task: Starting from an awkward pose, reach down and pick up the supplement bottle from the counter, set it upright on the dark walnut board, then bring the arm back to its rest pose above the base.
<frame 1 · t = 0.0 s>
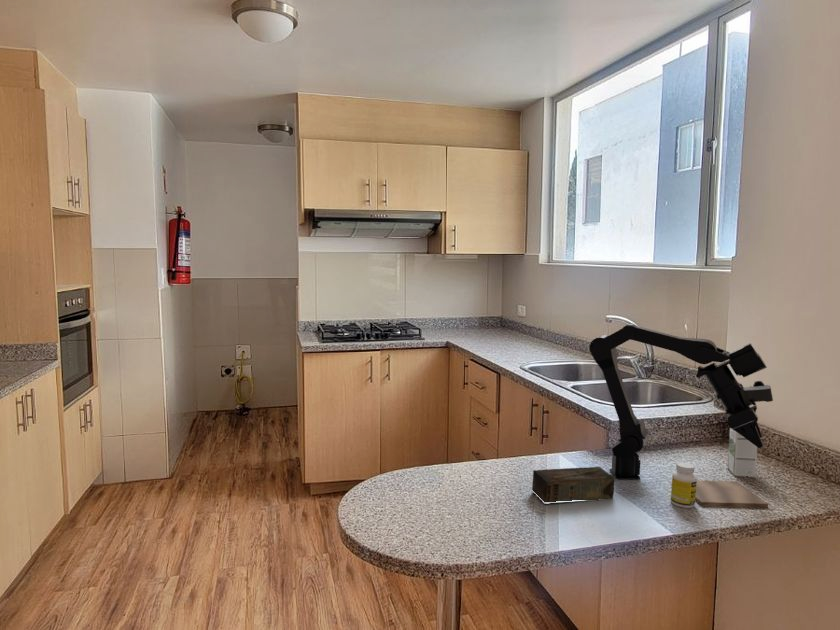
hand: (760, 442, 139), 15 cm above the countertop, tool tilted 35°, fingers open, 9 cm apart
beverage carton: (572, 497, 141), on the countertop
supplement bottle: (682, 504, 138), on the countertop
walnut board: (719, 495, 143), on the countertop
syrup box: (740, 473, 159), on the countertop
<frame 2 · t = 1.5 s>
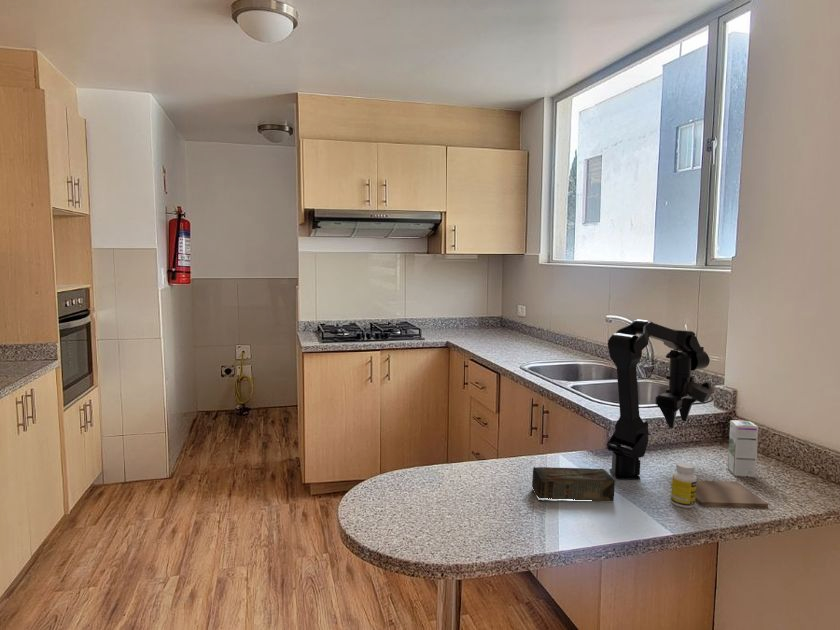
hand: (677, 424, 167), 11 cm above the countertop, tool pointing down, fingers open, 9 cm apart
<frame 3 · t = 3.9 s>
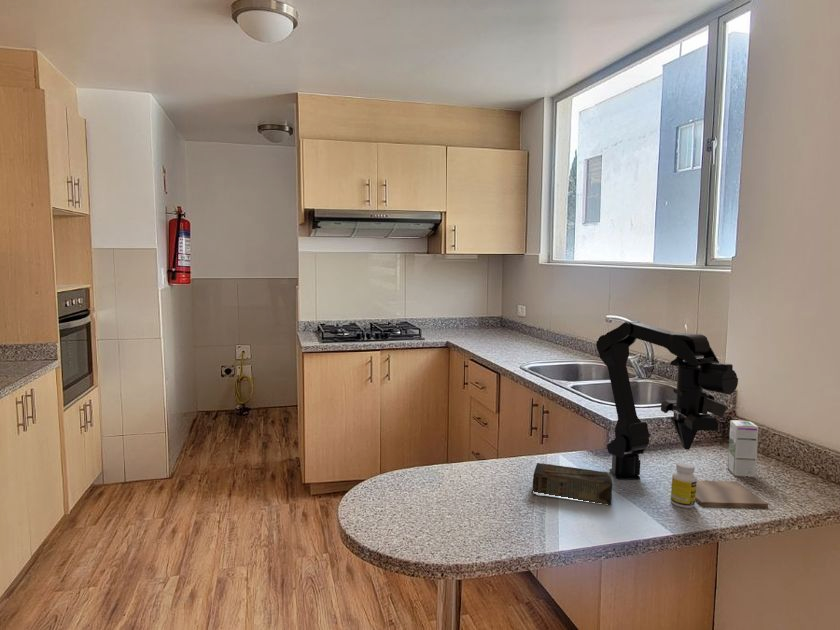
hand: (686, 449, 138), 13 cm above the countertop, tool pointing down, fingers closed
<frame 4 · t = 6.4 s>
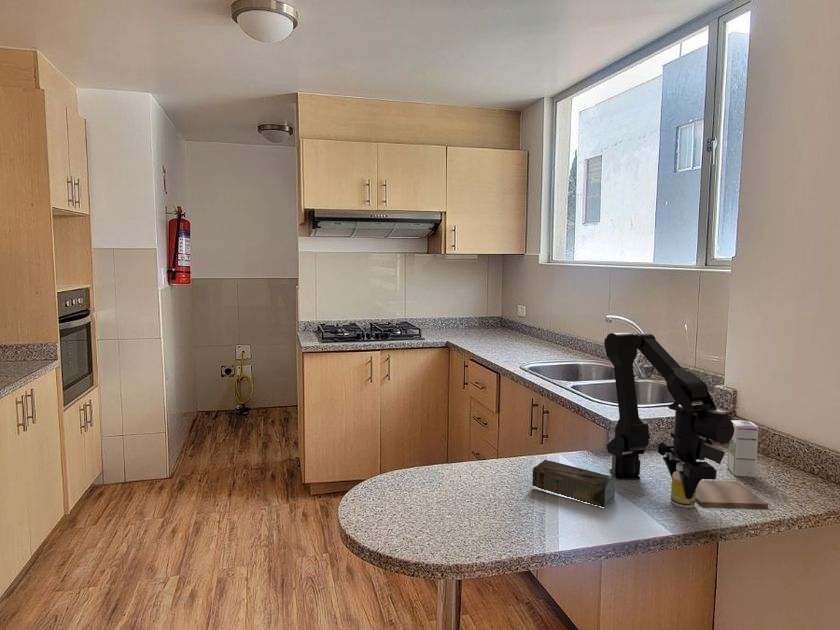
hand: (683, 493, 137), 3 cm above the countertop, tool pointing down, fingers closed on supplement bottle, 5 cm apart
supplement bottle: (682, 504, 138), on the countertop, touching gripper
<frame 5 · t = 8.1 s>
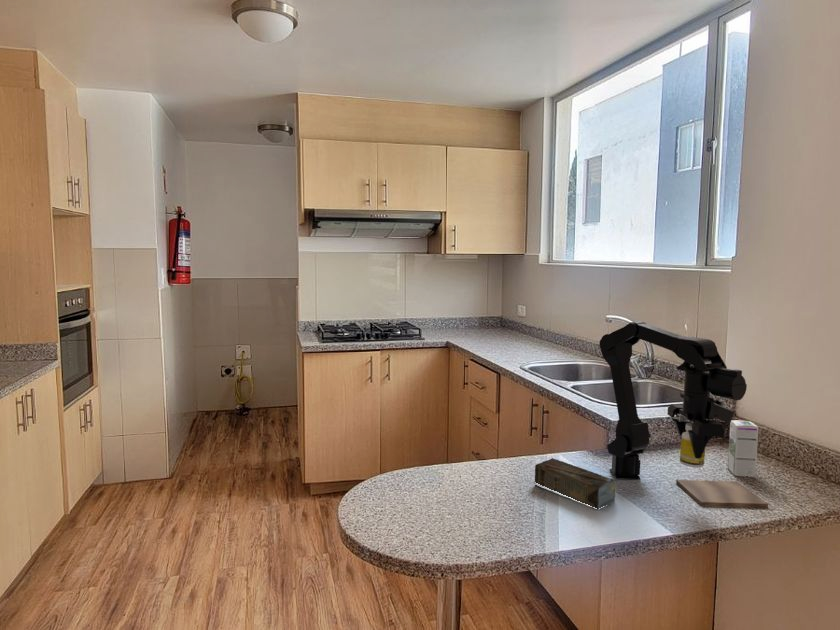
hand: (692, 454, 138), 12 cm above the countertop, tool pointing down, fingers closed on supplement bottle, 5 cm apart
supplement bottle: (691, 465, 138), point 9 cm above the countertop, touching gripper
when the fingers open (5 cm above the countertop, at t = 10.2 s): supplement bottle drops 1 cm, resting on walnut board.
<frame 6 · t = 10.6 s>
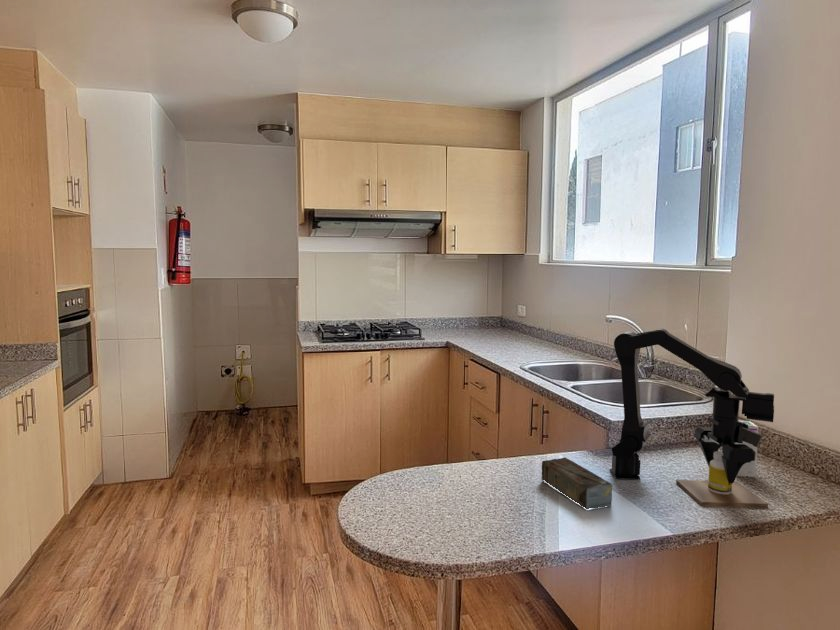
hand: (720, 475, 143), 5 cm above the countertop, tool pointing down, fingers open, 9 cm apart
supplement bottle: (719, 491, 143), point 1 cm above the countertop, touching walnut board
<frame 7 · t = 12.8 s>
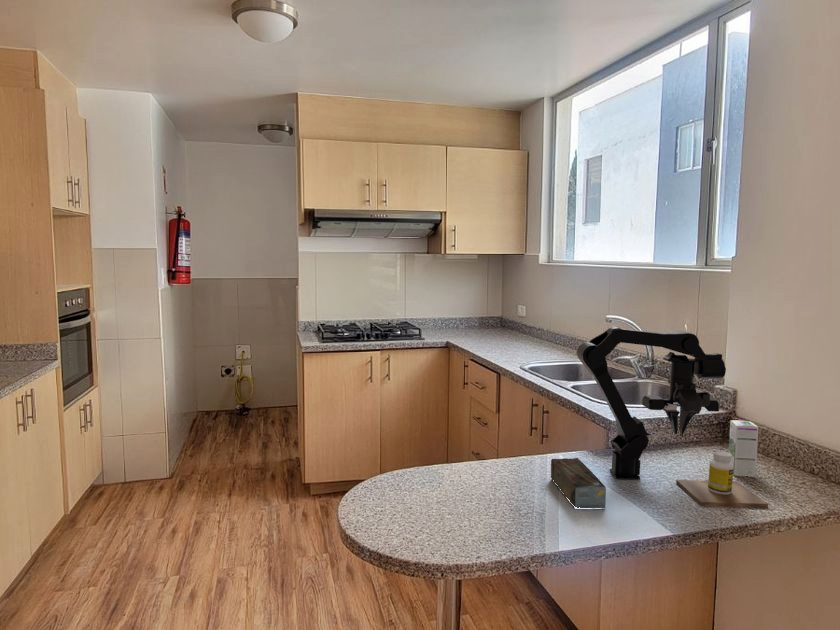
hand: (678, 434, 154), 12 cm above the countertop, tool pointing down, fingers closed
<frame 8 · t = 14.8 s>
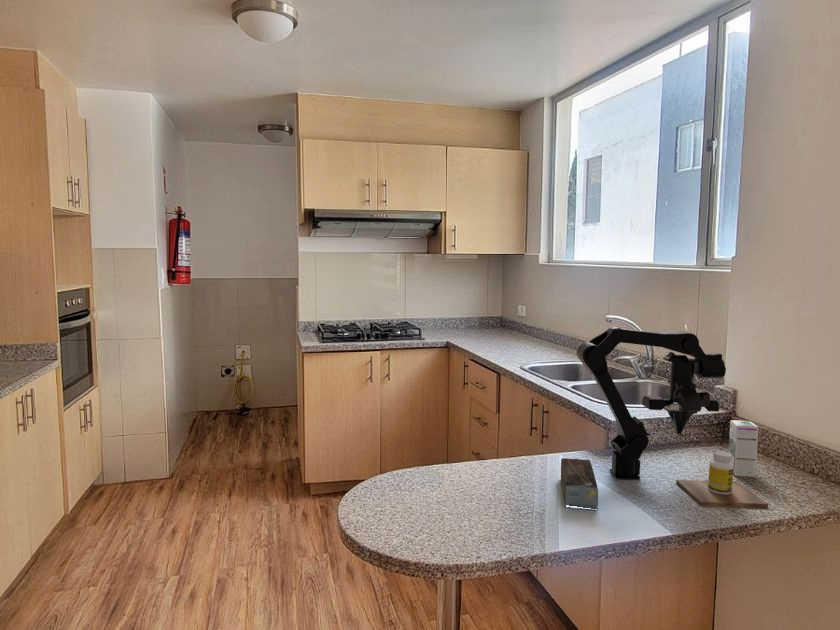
hand: (678, 434, 154), 12 cm above the countertop, tool pointing down, fingers closed
at the end: supplement bottle inside the target area on the walnut board (0.1 cm from its centre), point 0.8 cm above the walnut board's base; supplement bottle tilted 0°; the gripper is holding nothing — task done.
